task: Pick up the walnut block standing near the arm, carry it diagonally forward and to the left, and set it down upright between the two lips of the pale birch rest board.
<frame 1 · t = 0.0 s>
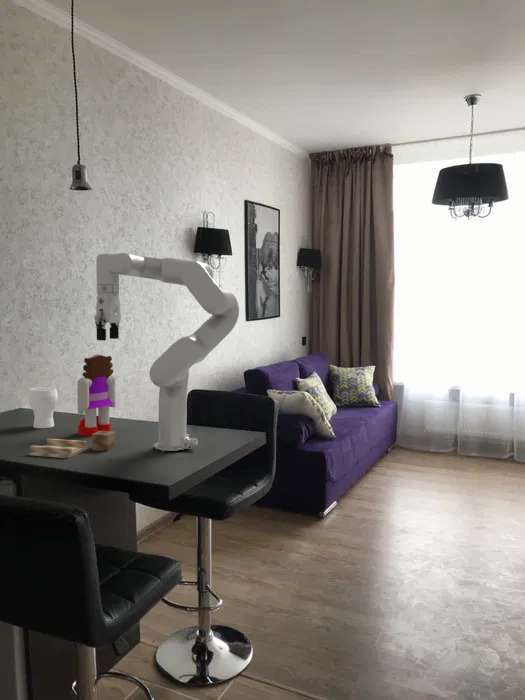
hand: (107, 339, 197), 37 cm above the table, fingers open, 9 cm apart
cup: (43, 426, 224), on the table
toy: (95, 432, 216), on the table
rest board: (58, 451, 187), on the table
walnut block: (103, 448, 193), on the table
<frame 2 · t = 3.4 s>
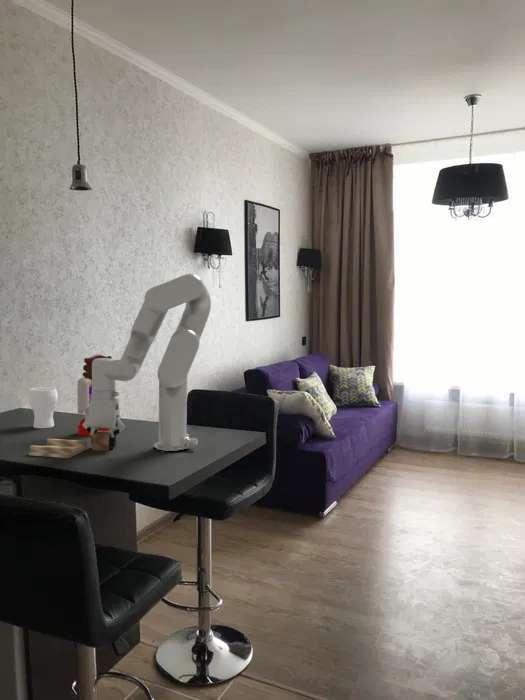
hand: (103, 446, 193), 1 cm above the table, fingers closed on walnut block, 5 cm apart
walnut block: (103, 448, 193), on the table, touching gripper
everything else where it was.
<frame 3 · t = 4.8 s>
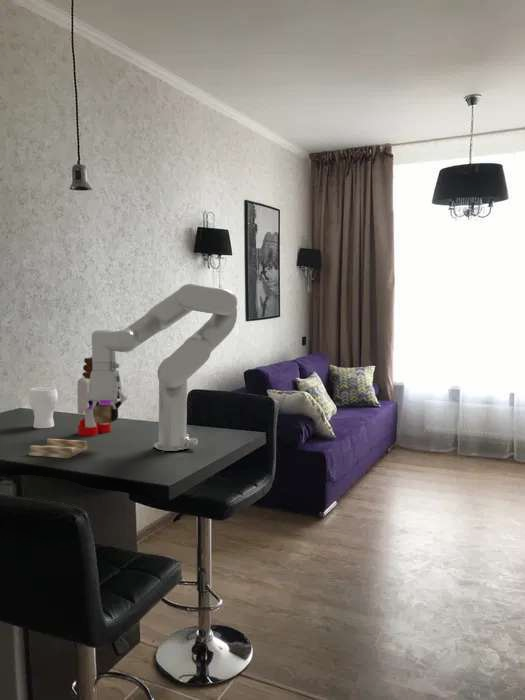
hand: (106, 419, 192), 10 cm above the table, fingers closed on walnut block, 5 cm apart
walnut block: (106, 421, 192), point 9 cm above the table, touching gripper
everything else where it was.
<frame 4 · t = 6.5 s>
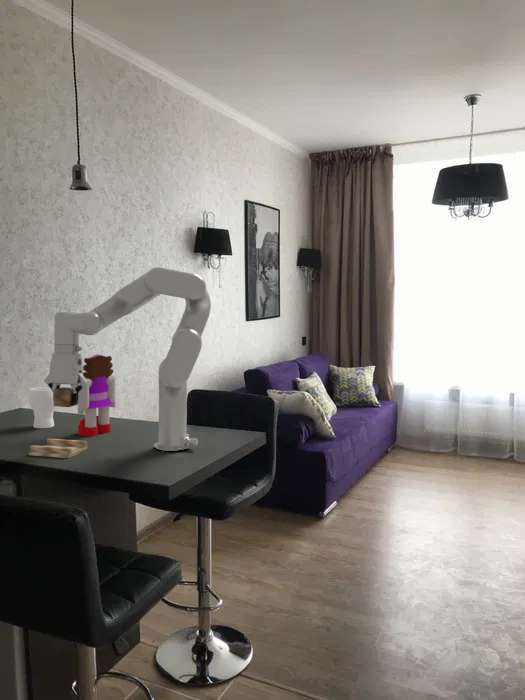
hand: (65, 403, 187), 16 cm above the table, fingers closed on walnut block, 5 cm apart
walnut block: (65, 405, 187), point 15 cm above the table, touching gripper
everything else where it was.
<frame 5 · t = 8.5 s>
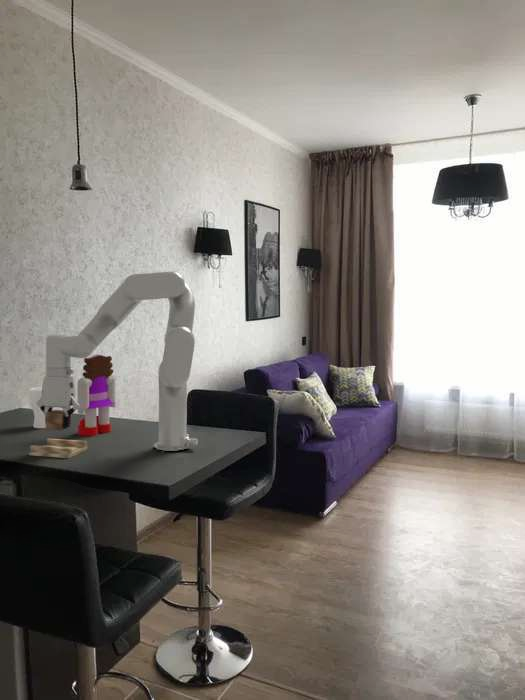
hand: (57, 426, 187), 9 cm above the table, fingers closed on walnut block, 5 cm apart
walnut block: (57, 428, 187), point 8 cm above the table, touching gripper
everything else where it was.
when the fingers open (3 cm above the table, at t = 9.9 s): walnut block drops 1 cm, resting on rest board.
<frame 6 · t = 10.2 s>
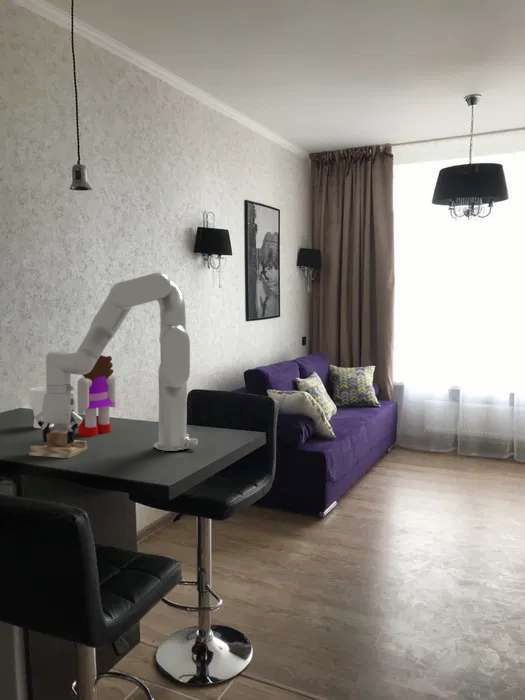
hand: (58, 441, 187), 3 cm above the table, fingers open, 8 cm apart
walnut block: (59, 448, 187), point 1 cm above the table, touching rest board
everything else where it was.
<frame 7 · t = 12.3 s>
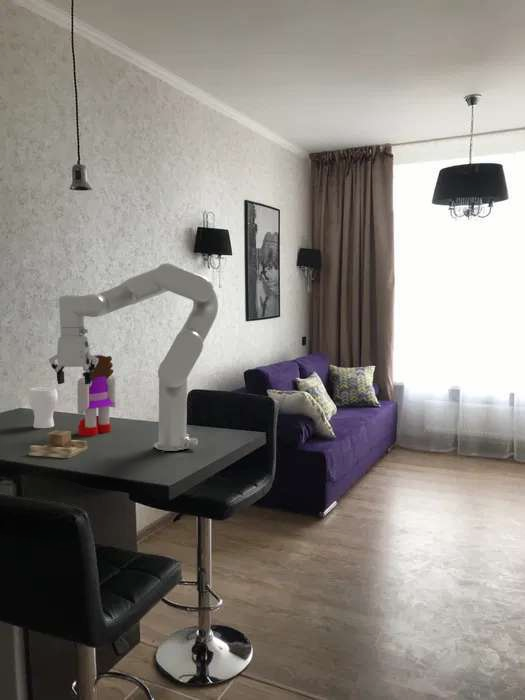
hand: (74, 383, 189), 22 cm above the table, fingers open, 9 cm apart
nothing on the table moved.
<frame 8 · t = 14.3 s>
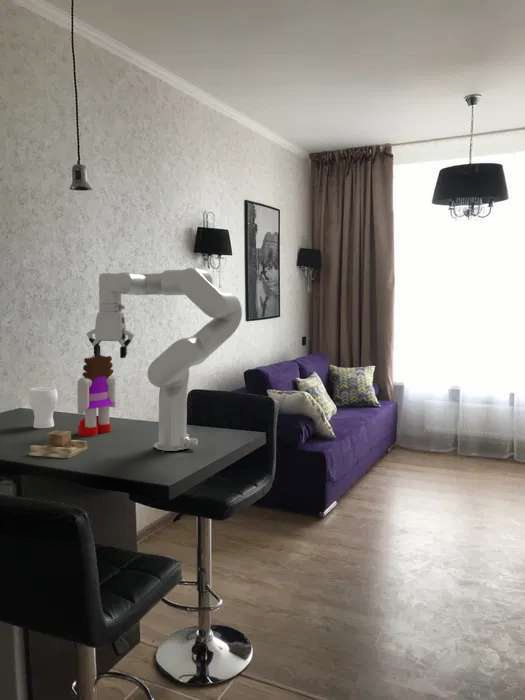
hand: (110, 357, 200), 30 cm above the table, fingers open, 9 cm apart
nothing on the table moved.
at the end: walnut block inside the target area on the rest board (0.1 cm from its centre), point 1.0 cm above the rest board's base; walnut block tilted 0°; the gripper is holding nothing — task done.
